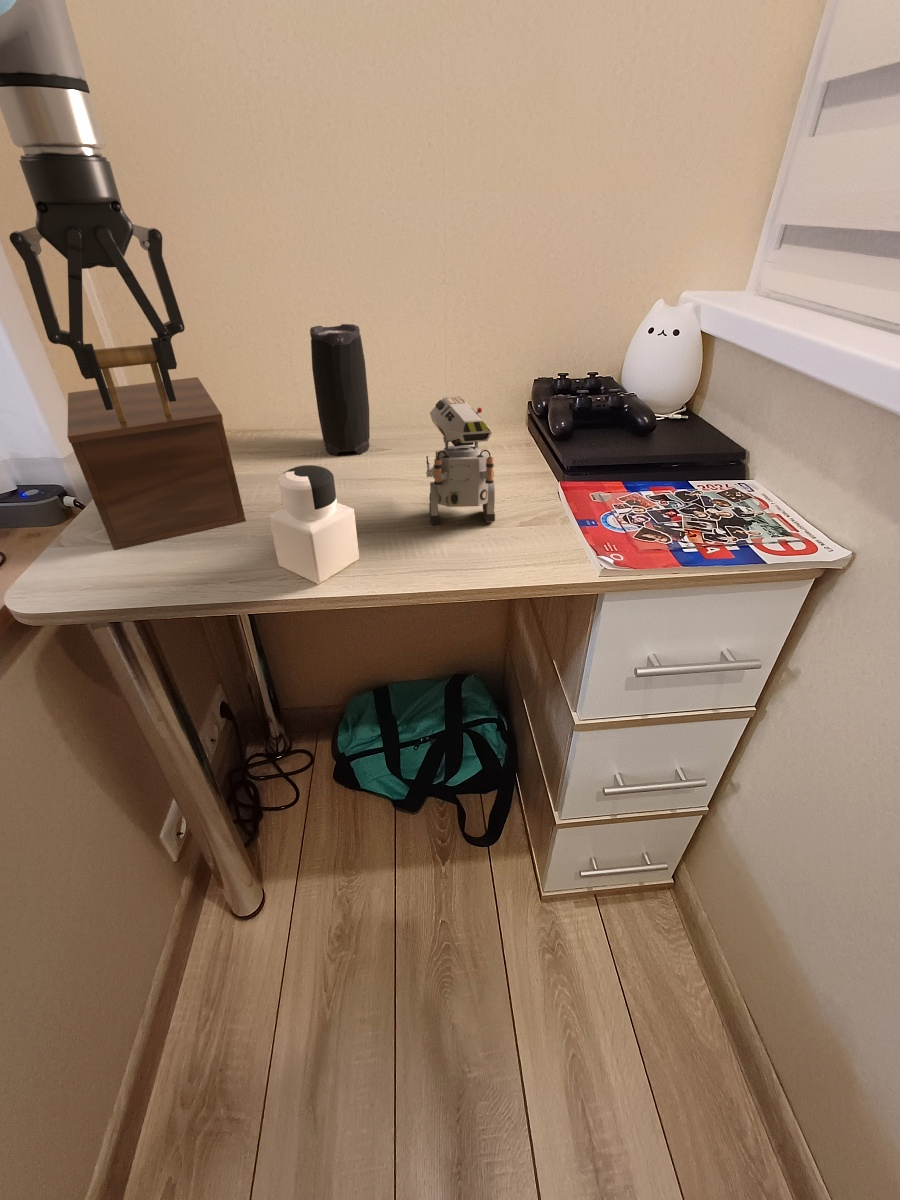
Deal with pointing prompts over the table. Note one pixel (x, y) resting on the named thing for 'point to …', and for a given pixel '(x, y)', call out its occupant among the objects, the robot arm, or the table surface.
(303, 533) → the medicine bottle
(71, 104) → the robot arm
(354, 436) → the portable speaker
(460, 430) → the figurine
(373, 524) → the table surface
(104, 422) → the chest lid
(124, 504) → the chest
